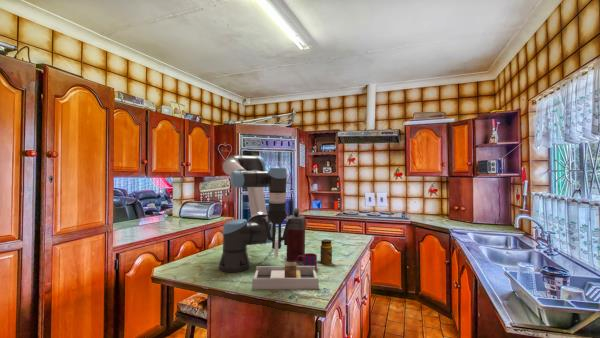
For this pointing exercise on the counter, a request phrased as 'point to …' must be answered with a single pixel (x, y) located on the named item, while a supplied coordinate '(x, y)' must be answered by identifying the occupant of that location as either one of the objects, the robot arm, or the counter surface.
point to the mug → (309, 260)
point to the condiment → (326, 253)
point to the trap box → (276, 278)
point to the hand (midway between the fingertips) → (276, 255)
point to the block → (290, 269)
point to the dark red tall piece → (295, 237)
